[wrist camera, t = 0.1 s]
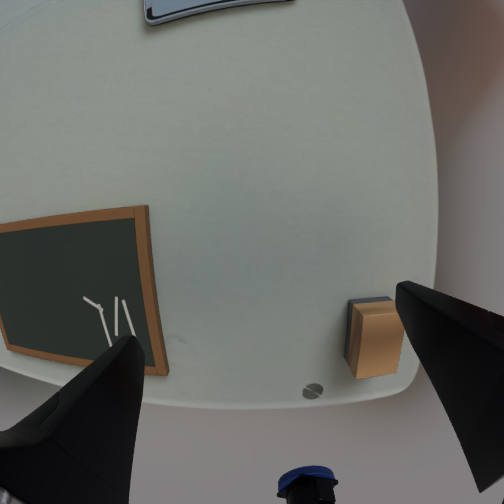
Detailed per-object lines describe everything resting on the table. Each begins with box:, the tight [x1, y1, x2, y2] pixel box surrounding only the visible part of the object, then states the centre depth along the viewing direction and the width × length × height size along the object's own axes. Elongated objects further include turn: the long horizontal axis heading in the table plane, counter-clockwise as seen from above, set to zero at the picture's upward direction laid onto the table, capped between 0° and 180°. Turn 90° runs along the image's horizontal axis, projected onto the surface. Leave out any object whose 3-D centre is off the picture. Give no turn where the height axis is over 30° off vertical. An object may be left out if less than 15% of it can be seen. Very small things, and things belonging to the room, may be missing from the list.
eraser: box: [344, 296, 404, 379], centre depth 23 cm, size 6×4×4 cm, turn 2°
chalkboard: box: [0, 205, 169, 376], centre depth 25 cm, size 16×24×1 cm, turn 92°
